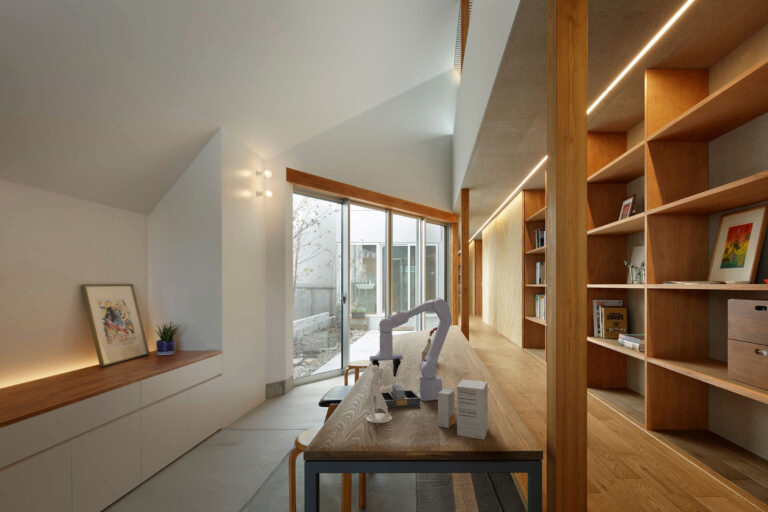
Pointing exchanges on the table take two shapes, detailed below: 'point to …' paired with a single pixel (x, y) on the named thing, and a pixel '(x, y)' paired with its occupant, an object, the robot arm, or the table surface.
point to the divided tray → (401, 400)
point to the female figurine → (377, 398)
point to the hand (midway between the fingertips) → (386, 376)
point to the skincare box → (446, 408)
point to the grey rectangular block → (397, 391)
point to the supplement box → (472, 409)
